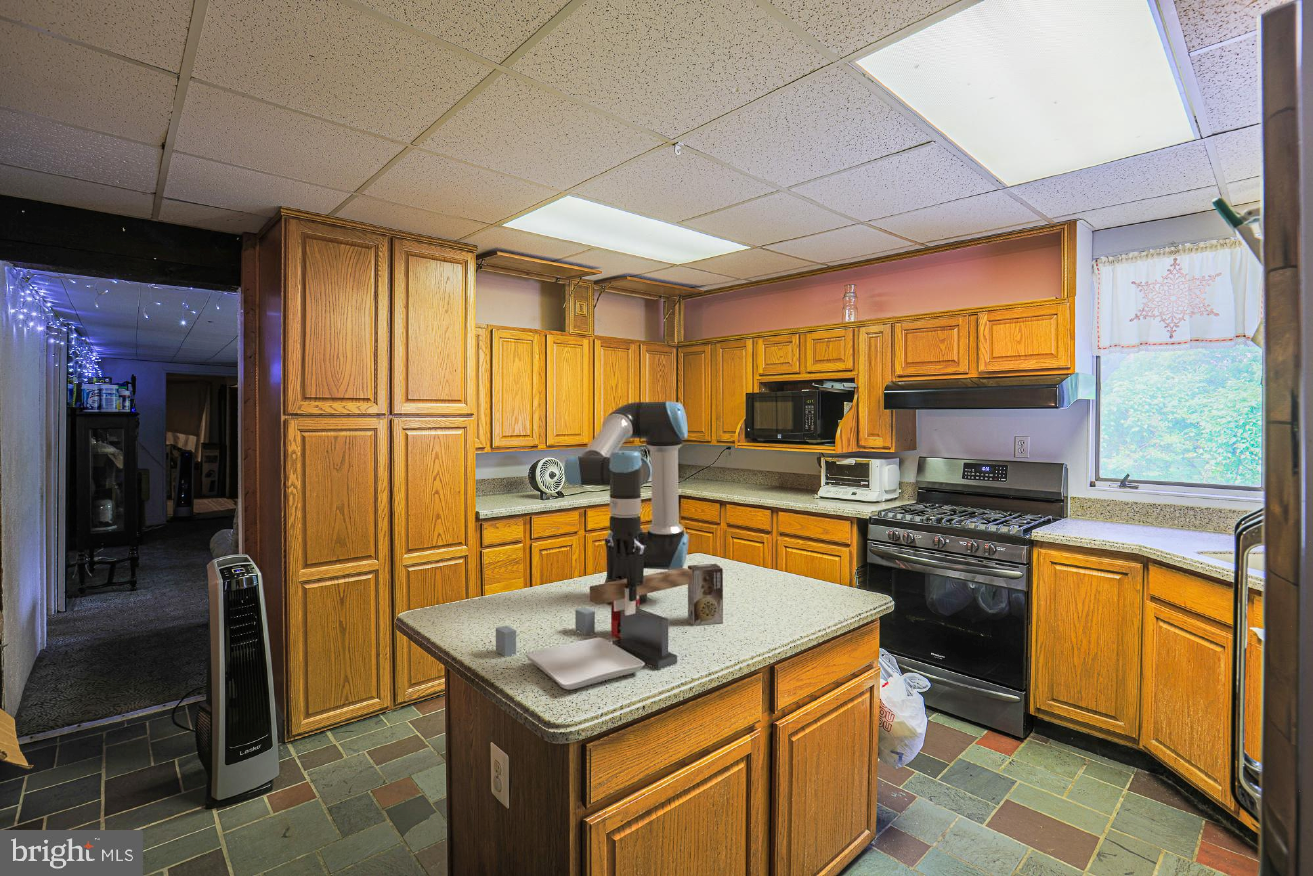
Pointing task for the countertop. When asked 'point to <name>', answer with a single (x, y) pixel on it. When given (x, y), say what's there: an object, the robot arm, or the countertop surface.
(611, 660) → the salad plate
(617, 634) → the canned food
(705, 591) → the coffee box
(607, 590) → the walnut bar
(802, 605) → the countertop surface
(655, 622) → the ridge
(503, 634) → the support blocks
